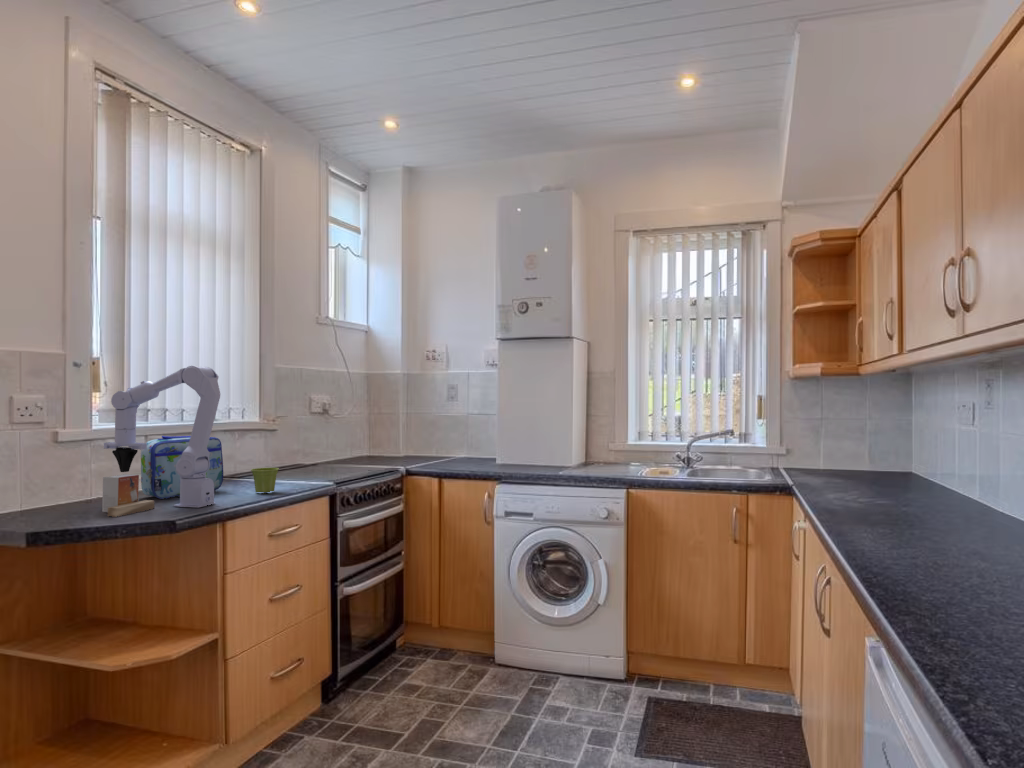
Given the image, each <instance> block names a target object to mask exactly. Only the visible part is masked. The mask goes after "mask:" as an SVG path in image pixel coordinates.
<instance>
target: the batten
mask: <svg viewBox="0 0 1024 768" xmlns="http://www.w3.org/2000/svg"><path fill="white" fill-rule="evenodd" d="M153 508H154V509H155V500H151V499H148V500H147V499H145V500H140V501H139V500H138V502H134V503H129V504H124V505H119V506H114V507H109V508H108V512H107V517H109V516H112V517H113V518H117V516H118V517H122V515H123V516H126V515H127V514H128V515H132V514H135V513H136V512H137V513H141V512H145V510H146V511H149V509H151V510H154V509H153ZM140 511H141V512H140ZM131 513H132V514H131Z"/></svg>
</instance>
